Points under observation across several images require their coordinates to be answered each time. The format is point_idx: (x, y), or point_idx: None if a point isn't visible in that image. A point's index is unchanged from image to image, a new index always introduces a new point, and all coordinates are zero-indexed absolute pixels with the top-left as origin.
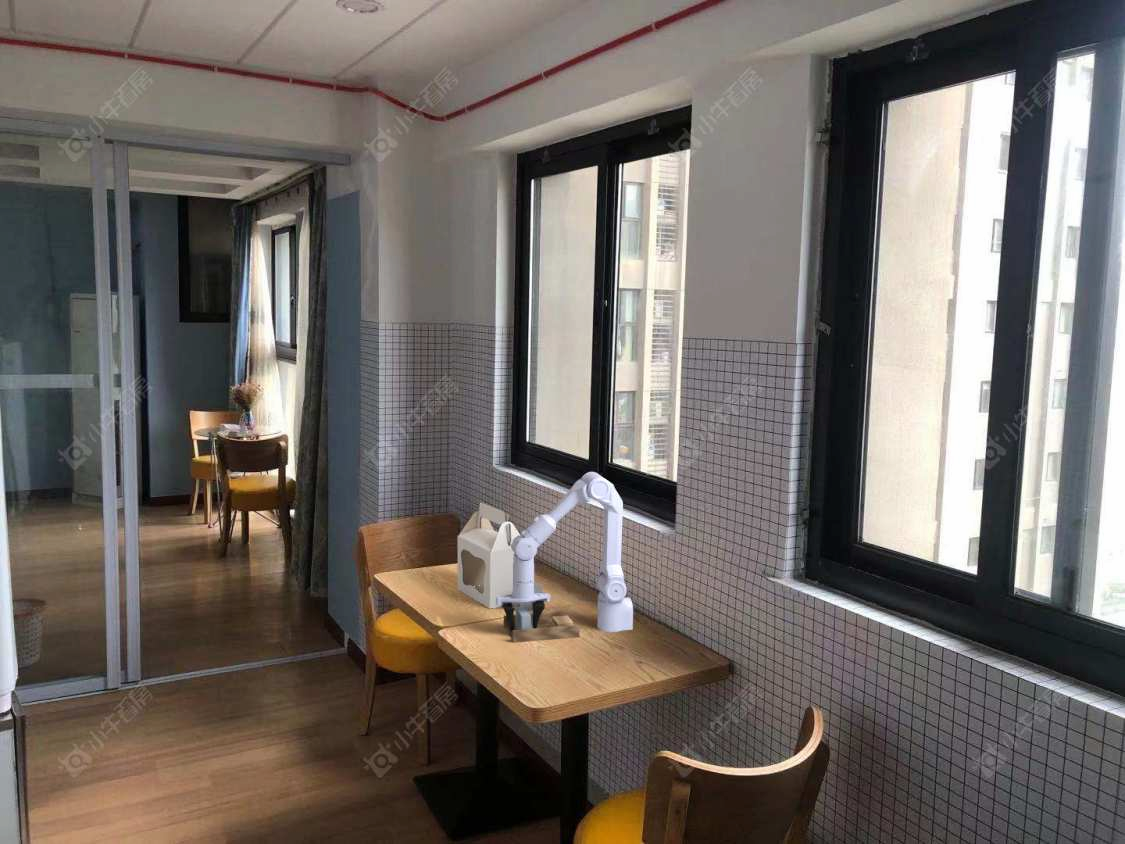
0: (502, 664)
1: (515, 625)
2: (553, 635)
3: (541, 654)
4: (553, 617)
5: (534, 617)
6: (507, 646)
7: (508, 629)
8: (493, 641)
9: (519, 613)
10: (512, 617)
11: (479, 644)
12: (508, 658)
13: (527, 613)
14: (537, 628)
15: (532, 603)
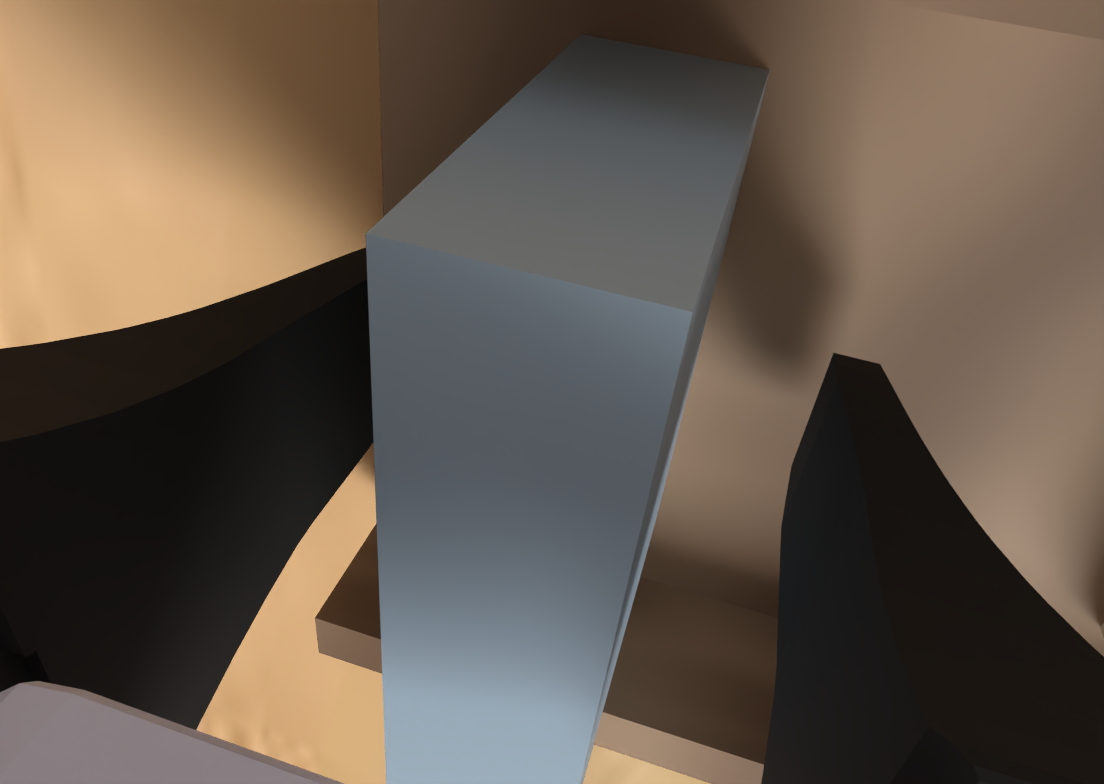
0: (250, 729)
1: (562, 57)
2: None
3: (611, 775)
4: None
5: (808, 596)
6: (338, 494)
7: (429, 50)
8: (192, 294)
9: (388, 629)
10: (258, 580)
11: (35, 303)
12: (307, 686)
13: (545, 753)
14: (689, 745)
15: (892, 712)
